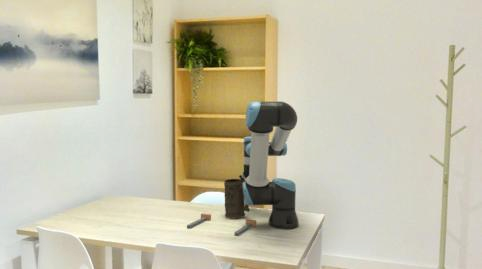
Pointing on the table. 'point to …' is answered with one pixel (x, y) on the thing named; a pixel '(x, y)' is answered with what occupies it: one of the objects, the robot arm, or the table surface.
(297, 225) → the robot arm
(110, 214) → the table surface
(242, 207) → the beer stein
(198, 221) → the grey and brown bars
